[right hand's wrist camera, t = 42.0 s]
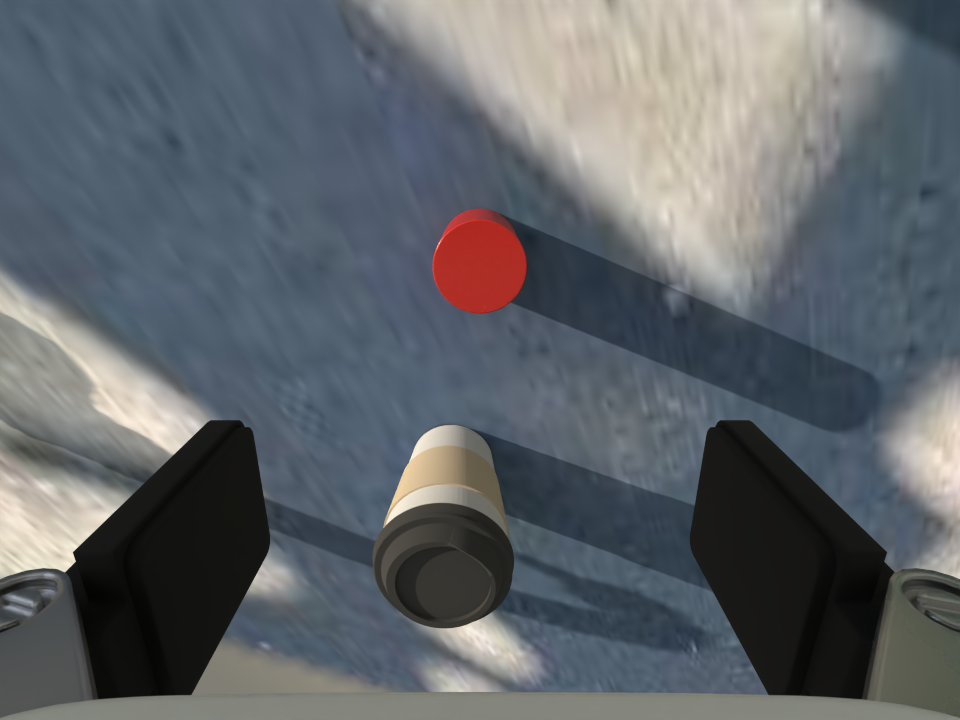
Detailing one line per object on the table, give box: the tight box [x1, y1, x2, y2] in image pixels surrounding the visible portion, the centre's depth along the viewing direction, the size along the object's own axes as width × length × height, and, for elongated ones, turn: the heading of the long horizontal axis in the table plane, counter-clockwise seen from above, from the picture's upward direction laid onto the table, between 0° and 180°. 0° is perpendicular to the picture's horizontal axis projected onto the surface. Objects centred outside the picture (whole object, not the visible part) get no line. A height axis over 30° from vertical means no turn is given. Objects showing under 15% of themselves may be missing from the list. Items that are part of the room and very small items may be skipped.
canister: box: [433, 209, 527, 313], centre depth 37 cm, size 6×6×8 cm
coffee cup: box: [373, 425, 514, 628], centre depth 39 cm, size 9×9×15 cm
